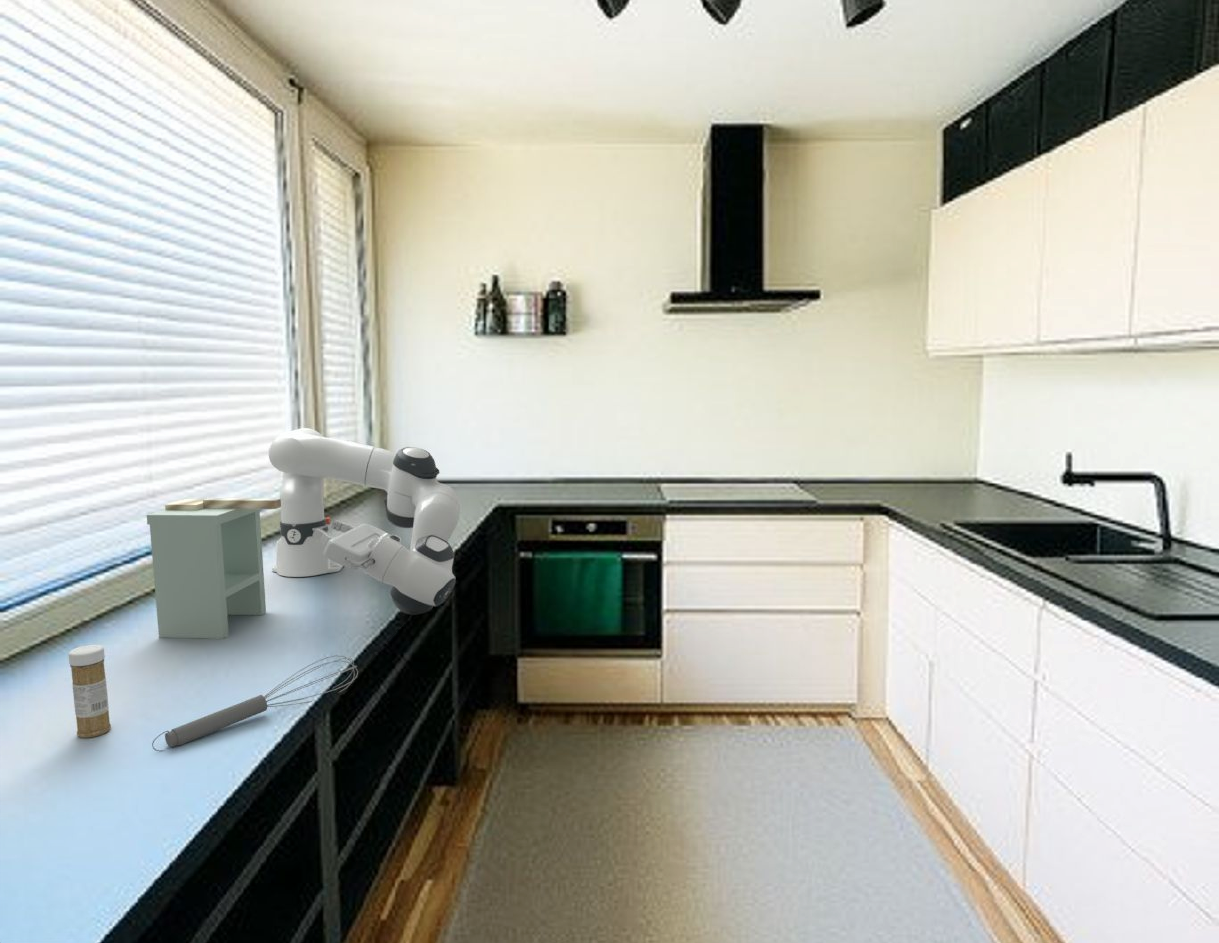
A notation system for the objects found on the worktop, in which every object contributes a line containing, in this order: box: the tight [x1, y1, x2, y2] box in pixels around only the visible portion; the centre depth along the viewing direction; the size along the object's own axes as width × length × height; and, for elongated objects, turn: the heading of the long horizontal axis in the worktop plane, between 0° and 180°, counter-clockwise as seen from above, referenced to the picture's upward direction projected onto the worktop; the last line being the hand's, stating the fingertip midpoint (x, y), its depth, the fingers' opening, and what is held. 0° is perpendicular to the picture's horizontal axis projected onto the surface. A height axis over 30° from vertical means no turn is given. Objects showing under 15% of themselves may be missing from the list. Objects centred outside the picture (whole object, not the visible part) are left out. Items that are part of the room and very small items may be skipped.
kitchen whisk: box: [151, 654, 359, 752], centre depth 131 cm, size 6×34×6 cm, turn 140°
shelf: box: [146, 508, 267, 640], centre depth 176 cm, size 18×15×26 cm
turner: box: [164, 497, 281, 510], centre depth 174 cm, size 23×7×2 cm, turn 86°
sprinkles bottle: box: [68, 644, 112, 739], centre depth 125 cm, size 5×5×13 cm
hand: (324, 527), depth 173 cm, fingers open, 8 cm apart
